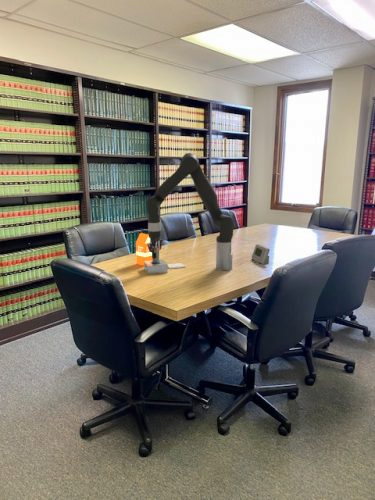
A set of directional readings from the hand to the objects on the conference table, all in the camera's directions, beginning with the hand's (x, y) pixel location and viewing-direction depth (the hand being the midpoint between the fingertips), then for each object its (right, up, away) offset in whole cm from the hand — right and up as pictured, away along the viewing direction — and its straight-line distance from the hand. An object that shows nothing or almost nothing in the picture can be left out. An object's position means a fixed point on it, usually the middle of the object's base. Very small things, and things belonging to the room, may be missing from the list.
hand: (155, 257), depth 224 cm
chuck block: (0, -8, +2) cm, 8 cm away
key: (0, -5, +1) cm, 5 cm away
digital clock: (+68, -3, +20) cm, 71 cm away
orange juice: (-8, -5, +18) cm, 20 cm away
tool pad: (+12, -6, +10) cm, 17 cm away
